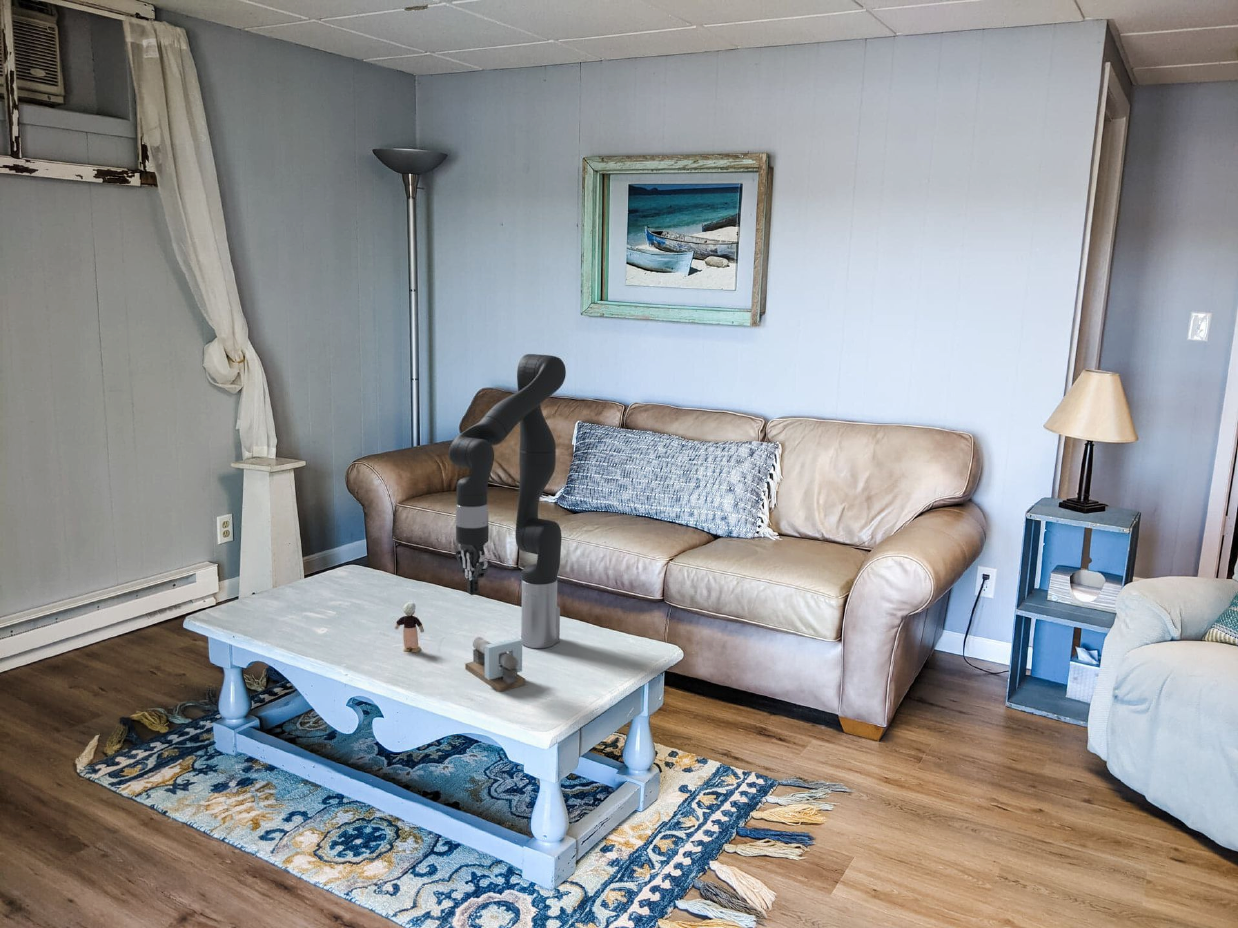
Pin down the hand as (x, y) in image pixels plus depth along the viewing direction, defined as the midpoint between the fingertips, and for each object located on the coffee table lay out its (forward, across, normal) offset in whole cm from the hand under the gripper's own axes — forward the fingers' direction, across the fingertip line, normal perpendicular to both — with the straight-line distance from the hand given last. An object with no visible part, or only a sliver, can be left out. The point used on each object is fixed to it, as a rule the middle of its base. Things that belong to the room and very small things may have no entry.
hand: (472, 593), depth 223 cm
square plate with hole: (+18, -8, -3) cm, 20 cm away
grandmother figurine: (+20, +23, +6) cm, 31 cm away
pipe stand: (+20, -4, -3) cm, 21 cm away
